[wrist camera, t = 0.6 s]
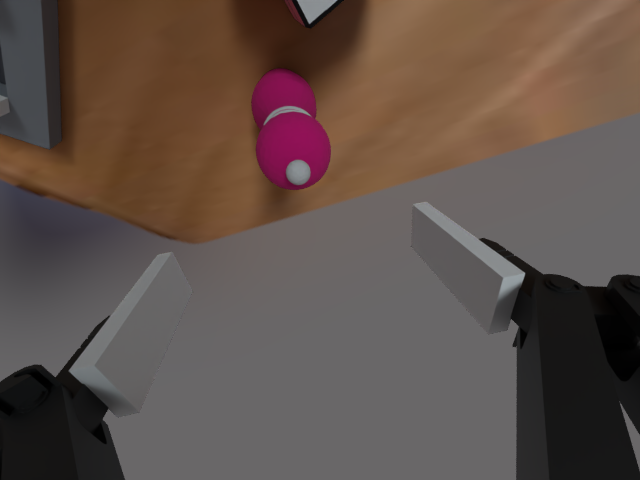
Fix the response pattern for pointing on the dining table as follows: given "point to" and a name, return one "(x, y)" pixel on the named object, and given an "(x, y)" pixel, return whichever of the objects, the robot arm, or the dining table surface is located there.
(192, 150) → the dining table surface
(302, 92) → the pepper mill
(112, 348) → the robot arm
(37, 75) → the pit deck
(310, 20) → the puzzle cube
